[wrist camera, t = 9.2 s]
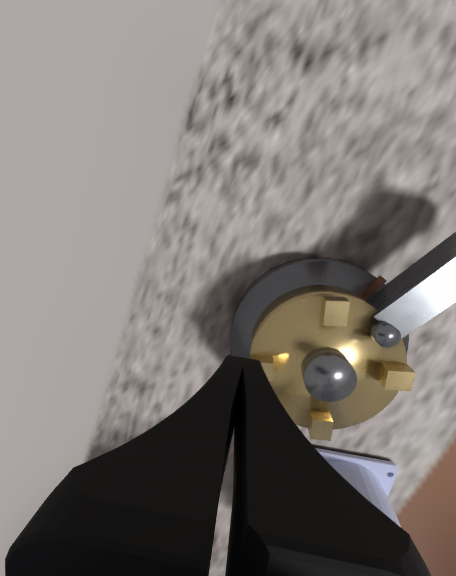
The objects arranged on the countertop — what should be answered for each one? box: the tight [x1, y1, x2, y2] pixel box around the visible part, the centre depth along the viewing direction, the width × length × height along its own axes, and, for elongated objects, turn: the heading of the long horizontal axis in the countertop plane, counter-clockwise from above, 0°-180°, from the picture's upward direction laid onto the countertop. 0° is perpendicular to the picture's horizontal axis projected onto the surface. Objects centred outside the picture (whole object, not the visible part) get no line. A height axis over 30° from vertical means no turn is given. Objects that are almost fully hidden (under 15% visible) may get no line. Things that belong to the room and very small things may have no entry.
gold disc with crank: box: [250, 232, 456, 441], centre depth 15 cm, size 17×9×4 cm, turn 135°
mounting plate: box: [230, 257, 409, 359], centre depth 19 cm, size 12×12×2 cm
